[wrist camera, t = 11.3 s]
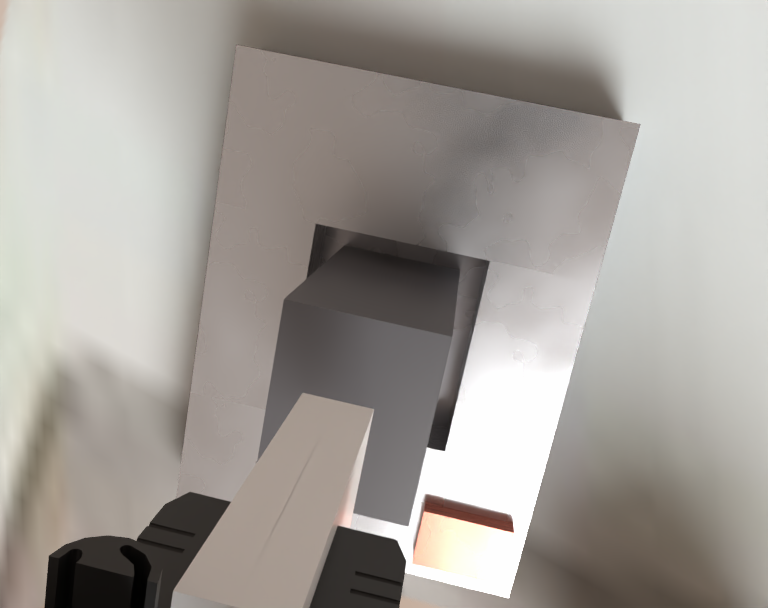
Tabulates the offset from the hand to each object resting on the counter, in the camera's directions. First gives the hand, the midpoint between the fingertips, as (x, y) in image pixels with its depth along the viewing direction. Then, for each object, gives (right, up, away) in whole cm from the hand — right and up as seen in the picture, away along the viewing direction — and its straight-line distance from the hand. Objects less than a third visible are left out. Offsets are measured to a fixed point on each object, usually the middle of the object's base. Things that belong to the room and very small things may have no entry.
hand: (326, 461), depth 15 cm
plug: (+1, +2, +10) cm, 11 cm away
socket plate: (+1, +3, +11) cm, 11 cm away
